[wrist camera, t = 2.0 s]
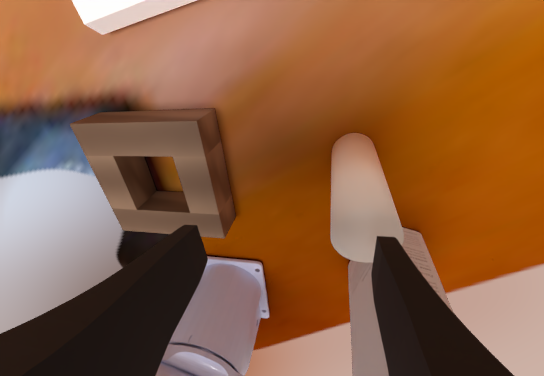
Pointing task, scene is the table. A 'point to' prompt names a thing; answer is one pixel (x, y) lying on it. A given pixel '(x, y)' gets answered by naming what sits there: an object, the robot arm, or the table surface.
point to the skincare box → (363, 318)
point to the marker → (121, 12)
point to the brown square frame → (136, 176)
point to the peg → (360, 199)
